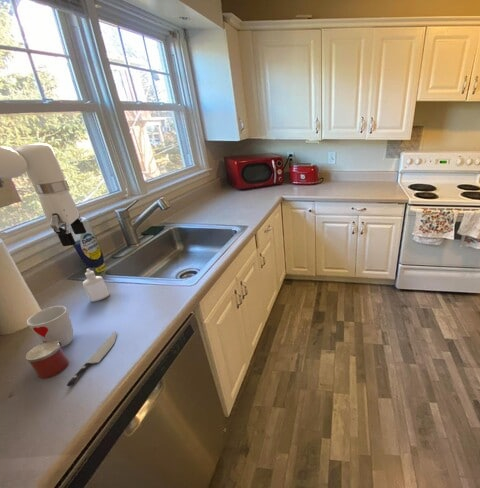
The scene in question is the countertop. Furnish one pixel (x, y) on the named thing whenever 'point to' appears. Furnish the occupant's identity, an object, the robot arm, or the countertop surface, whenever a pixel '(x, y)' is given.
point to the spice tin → (47, 359)
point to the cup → (52, 325)
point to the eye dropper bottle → (95, 286)
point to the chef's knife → (95, 356)
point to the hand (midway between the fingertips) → (75, 239)
